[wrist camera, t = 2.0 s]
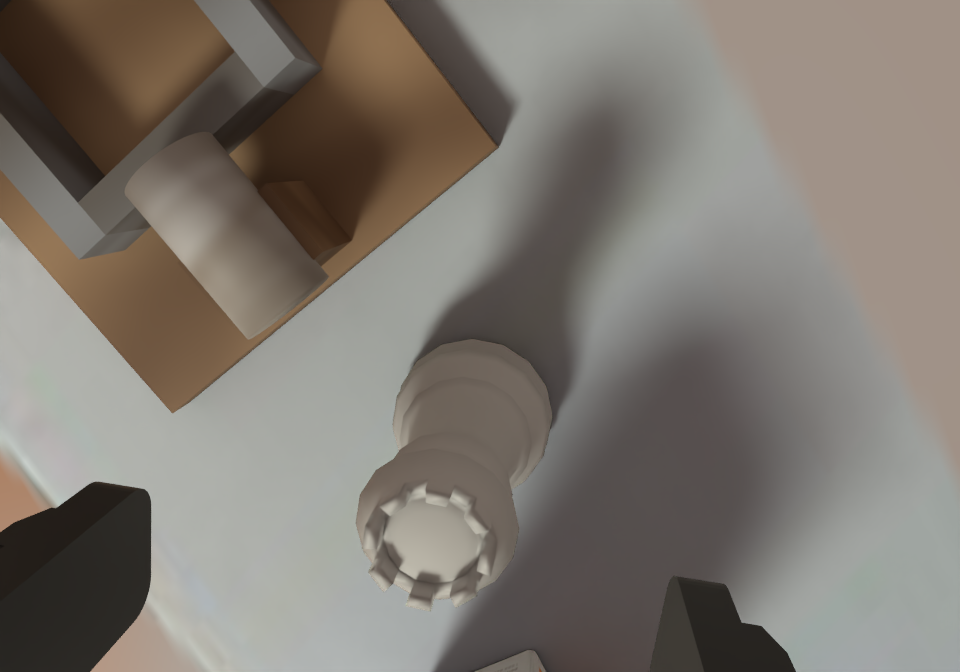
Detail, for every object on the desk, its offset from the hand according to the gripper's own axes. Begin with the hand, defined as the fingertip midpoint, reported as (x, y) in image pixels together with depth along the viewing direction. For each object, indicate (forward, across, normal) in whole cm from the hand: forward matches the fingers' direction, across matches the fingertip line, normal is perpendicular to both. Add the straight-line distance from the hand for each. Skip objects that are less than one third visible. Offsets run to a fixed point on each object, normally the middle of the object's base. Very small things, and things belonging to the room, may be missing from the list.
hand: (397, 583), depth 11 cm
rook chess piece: (+11, 0, +1) cm, 11 cm away
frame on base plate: (+11, +10, -8) cm, 16 cm away
